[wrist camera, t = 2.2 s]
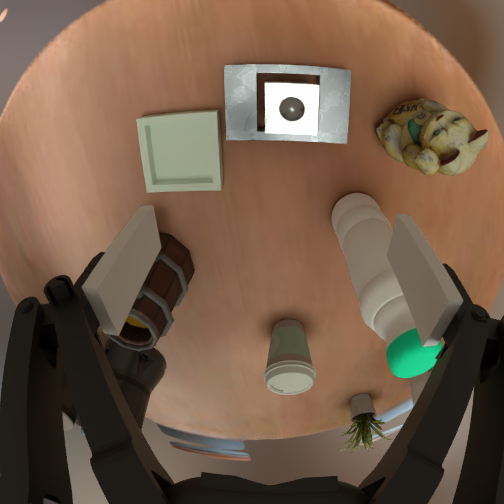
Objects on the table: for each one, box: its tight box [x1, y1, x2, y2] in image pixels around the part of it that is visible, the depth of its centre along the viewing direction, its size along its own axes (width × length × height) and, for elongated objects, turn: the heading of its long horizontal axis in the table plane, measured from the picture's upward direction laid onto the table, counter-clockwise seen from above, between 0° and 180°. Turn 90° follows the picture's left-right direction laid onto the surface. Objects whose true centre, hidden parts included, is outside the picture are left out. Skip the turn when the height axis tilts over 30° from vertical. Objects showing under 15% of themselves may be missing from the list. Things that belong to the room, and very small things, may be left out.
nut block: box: [265, 81, 319, 135], centre depth 29 cm, size 5×5×8 cm
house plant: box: [340, 394, 390, 452], centre depth 63 cm, size 14×14×16 cm
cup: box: [410, 368, 433, 405], centre depth 58 cm, size 8×8×10 cm
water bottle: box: [331, 193, 442, 378], centre depth 30 cm, size 7×7×25 cm
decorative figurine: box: [376, 98, 488, 176], centre depth 26 cm, size 10×8×15 cm
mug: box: [107, 233, 194, 351], centre depth 39 cm, size 16×12×15 cm
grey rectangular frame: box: [224, 64, 351, 144], centre depth 31 cm, size 14×9×2 cm, turn 91°
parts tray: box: [136, 109, 224, 193], centre depth 35 cm, size 10×10×2 cm
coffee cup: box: [264, 319, 316, 395], centre depth 49 cm, size 8×9×12 cm
